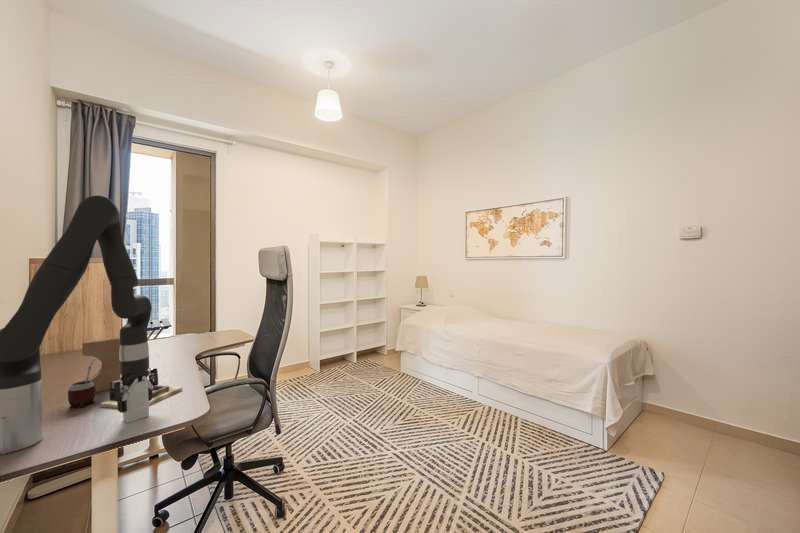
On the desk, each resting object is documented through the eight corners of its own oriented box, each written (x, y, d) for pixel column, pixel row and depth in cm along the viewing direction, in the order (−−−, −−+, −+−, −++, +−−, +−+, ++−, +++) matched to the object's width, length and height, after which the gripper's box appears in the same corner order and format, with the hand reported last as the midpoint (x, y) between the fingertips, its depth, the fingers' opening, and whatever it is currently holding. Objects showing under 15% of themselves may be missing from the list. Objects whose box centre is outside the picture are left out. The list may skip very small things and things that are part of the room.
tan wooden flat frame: (137, 410, 113) (137, 402, 113) (100, 406, 116) (100, 398, 116) (182, 390, 131) (182, 383, 131) (149, 387, 134) (148, 380, 134)
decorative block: (83, 395, 126) (82, 343, 126) (83, 391, 130) (82, 341, 130) (121, 387, 134) (120, 338, 134) (119, 383, 138) (118, 336, 138)
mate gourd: (68, 411, 112) (67, 368, 112) (68, 405, 118) (66, 363, 118) (98, 404, 118) (97, 363, 117) (96, 398, 123) (95, 358, 123)
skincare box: (145, 412, 111) (144, 377, 111) (149, 416, 108) (148, 380, 108) (122, 419, 106) (121, 382, 106) (125, 423, 103) (124, 385, 103)
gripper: (145, 350, 115) (146, 396, 115) (101, 362, 101) (103, 415, 101) (163, 351, 113) (165, 397, 114) (121, 364, 99) (123, 417, 100)
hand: (135, 406), depth 107 cm, fingers open, 8 cm apart
